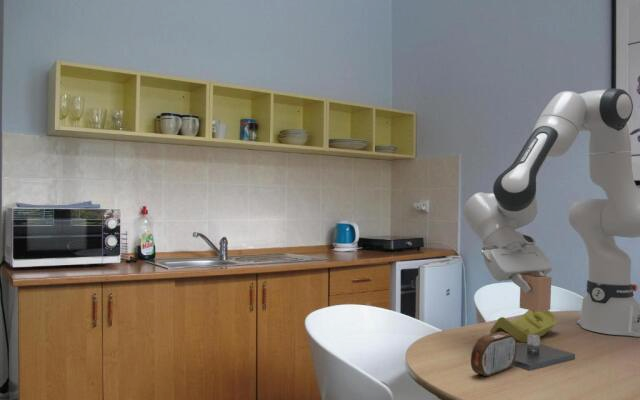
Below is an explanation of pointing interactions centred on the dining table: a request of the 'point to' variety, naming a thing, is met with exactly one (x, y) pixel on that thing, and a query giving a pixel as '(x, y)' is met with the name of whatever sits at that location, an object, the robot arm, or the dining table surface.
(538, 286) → the sleeve
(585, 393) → the dining table surface
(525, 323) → the plastic component
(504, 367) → the tin
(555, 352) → the base
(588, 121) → the robot arm
